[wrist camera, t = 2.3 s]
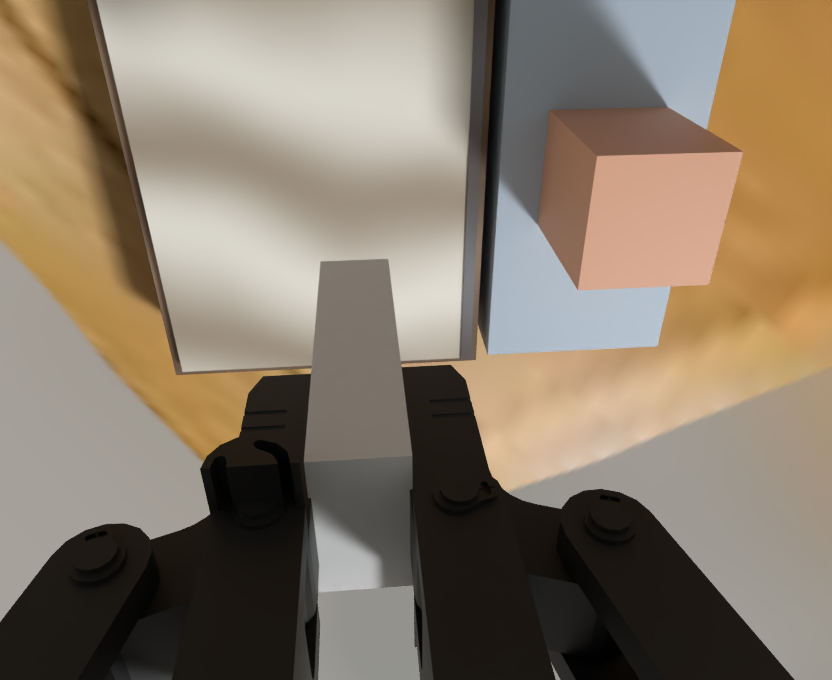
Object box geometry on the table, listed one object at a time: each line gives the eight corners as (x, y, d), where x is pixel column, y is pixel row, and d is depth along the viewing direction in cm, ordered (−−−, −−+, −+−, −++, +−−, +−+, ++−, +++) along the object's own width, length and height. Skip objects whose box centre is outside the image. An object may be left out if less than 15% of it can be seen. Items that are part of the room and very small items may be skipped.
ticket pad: (97, -108, 21) (53, -113, 18) (482, -109, 21) (504, -113, 18) (192, 332, 29) (173, 382, 26) (464, 320, 30) (477, 366, 27)
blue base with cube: (494, -90, 22) (565, -93, 15) (703, -91, 22) (871, -94, 15) (474, 312, 30) (513, 436, 23) (627, 305, 30) (713, 424, 23)
